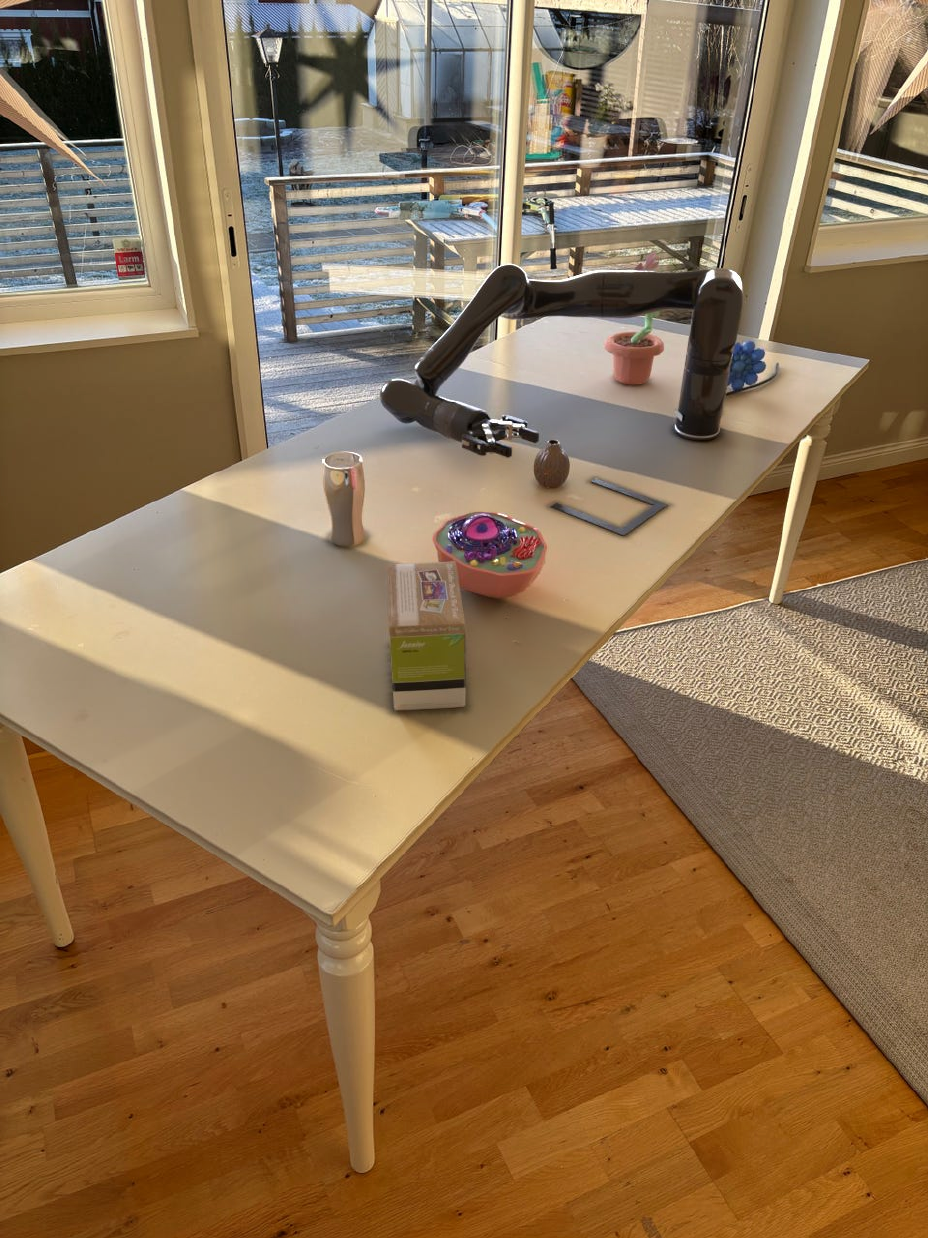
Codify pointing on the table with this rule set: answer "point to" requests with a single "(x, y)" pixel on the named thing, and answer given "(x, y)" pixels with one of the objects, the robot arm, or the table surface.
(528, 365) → the table surface
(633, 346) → the decorative flower
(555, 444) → the vase
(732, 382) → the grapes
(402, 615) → the tea box
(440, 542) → the cell model
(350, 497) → the beer glass
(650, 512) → the tape u shape
